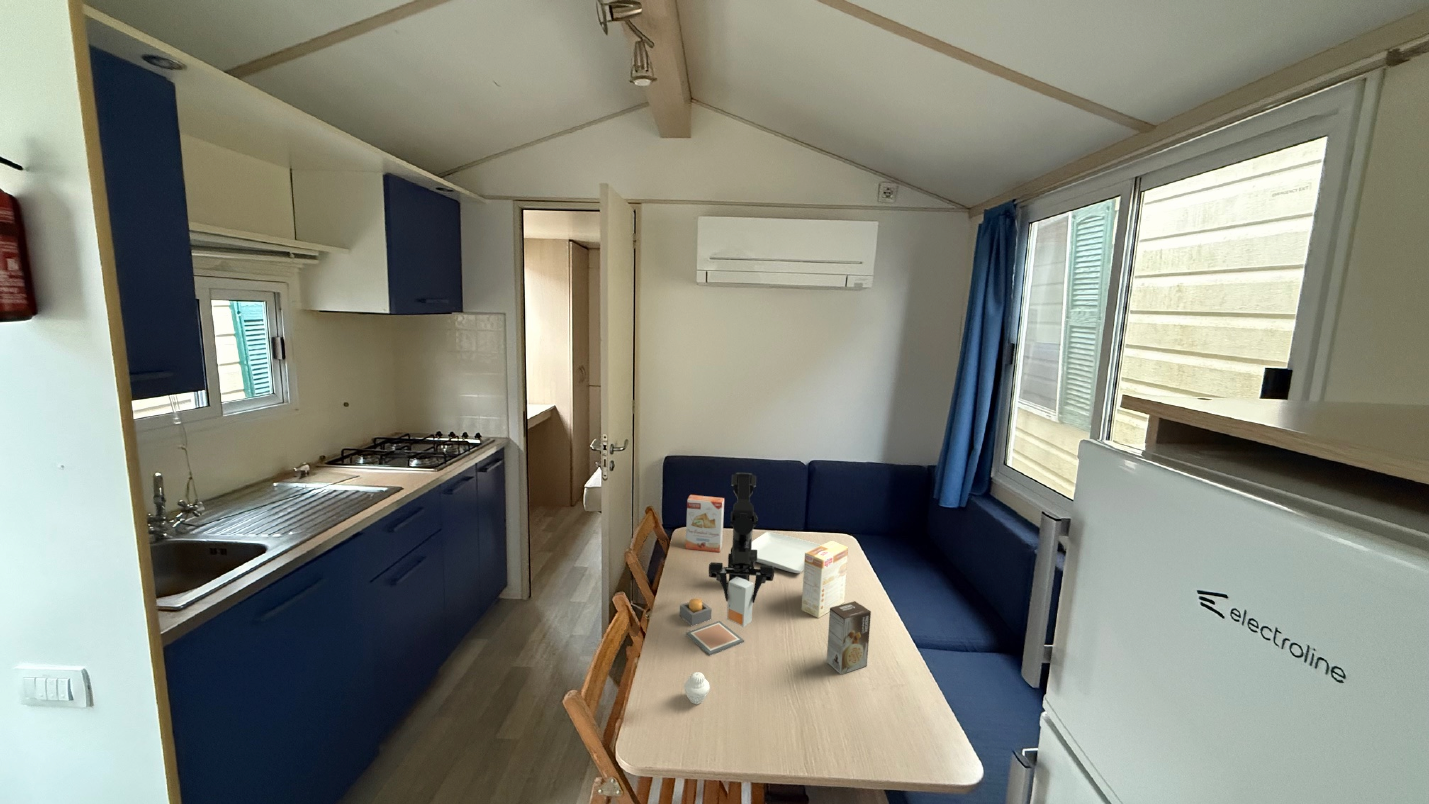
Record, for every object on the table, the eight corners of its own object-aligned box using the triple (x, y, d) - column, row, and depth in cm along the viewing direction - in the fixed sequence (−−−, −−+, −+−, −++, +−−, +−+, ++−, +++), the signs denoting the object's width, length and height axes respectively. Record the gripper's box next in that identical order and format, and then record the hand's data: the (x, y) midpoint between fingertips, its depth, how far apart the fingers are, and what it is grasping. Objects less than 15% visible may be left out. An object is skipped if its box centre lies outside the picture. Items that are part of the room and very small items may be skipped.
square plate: (828, 554, 222) (828, 545, 221) (800, 580, 199) (801, 570, 198) (767, 538, 236) (767, 529, 235) (734, 560, 213) (735, 551, 212)
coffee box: (851, 653, 156) (855, 600, 153) (867, 666, 150) (872, 611, 148) (825, 661, 152) (829, 607, 149) (840, 675, 146) (845, 618, 144)
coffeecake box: (827, 594, 189) (830, 539, 186) (845, 602, 184) (849, 546, 181) (800, 609, 178) (803, 552, 175) (818, 619, 173) (822, 559, 170)
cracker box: (685, 549, 220) (686, 498, 217) (688, 543, 226) (689, 493, 223) (720, 553, 218) (722, 502, 215) (722, 547, 224) (724, 497, 221)
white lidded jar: (695, 687, 139) (696, 662, 138) (714, 699, 135) (715, 673, 134) (678, 700, 134) (679, 674, 133) (697, 712, 131) (698, 685, 130)
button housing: (698, 609, 176) (698, 599, 176) (711, 619, 171) (711, 608, 170) (679, 615, 172) (679, 605, 172) (691, 626, 167) (692, 615, 166)
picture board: (719, 622, 169) (719, 620, 169) (744, 642, 159) (744, 639, 159) (686, 634, 162) (686, 632, 162) (709, 655, 153) (709, 653, 152)
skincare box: (726, 620, 159) (727, 581, 157) (735, 614, 163) (736, 575, 161) (743, 628, 156) (745, 588, 154) (752, 621, 159) (754, 582, 157)
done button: (697, 606, 174) (697, 597, 173) (704, 612, 171) (704, 602, 170) (686, 609, 171) (686, 600, 171) (693, 615, 168) (693, 606, 168)
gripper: (710, 536, 159) (706, 591, 150) (775, 539, 159) (775, 595, 150) (710, 550, 169) (707, 603, 160) (772, 553, 168) (772, 607, 159)
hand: (740, 601), depth 157 cm, fingers closed on skincare box, 7 cm apart
